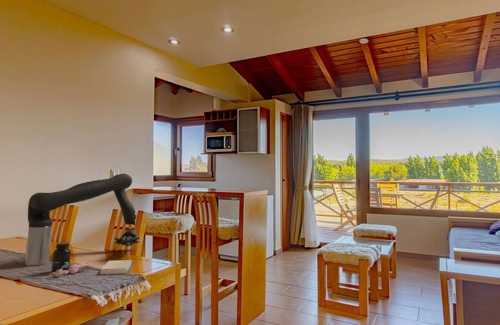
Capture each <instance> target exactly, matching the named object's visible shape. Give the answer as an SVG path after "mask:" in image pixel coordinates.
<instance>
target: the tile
mask: <svg viewBox="0 0 500 325" xmlns="http://www.w3.org/2000/svg"><path fill="white" fill-rule="evenodd" d="M132 261H133V260H132V259H131V260H130V259H129V260H127V259H125V260H122V259H121V260H120V259H119V260H108V261H107V262H106V263H105V264H104V265H103V266H102V267H101V268H100V272H101V274H126V273H127V271H128V270H129V268H130V267H131V264H132Z"/></svg>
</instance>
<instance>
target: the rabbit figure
mask: <svg viewBox="0 0 500 325" xmlns="http://www.w3.org/2000/svg"><path fill="white" fill-rule="evenodd" d="M68 265H69V263H68V262H65V265H64V266H62V268H61V269H59V270H57V271H56V272H49V278H51V279H53V277H54V278H60V277H61V276H64V275H67V274H68V273H69V274H71V275H75V274H76V273H78V272H80V270H81V269H83V268H84V267H90V266H91V264H89V263H83V262H82V263H80V264H78V263H77V264H72V265H71V264H70V267H69V270H62V269H63V268H66V267H68Z"/></svg>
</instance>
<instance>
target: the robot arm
mask: <svg viewBox="0 0 500 325" xmlns="http://www.w3.org/2000/svg"><path fill="white" fill-rule="evenodd" d="M132 184H133V178H132V176H130V174H126V173H119V174H116V175H113V176H112V177H110V178H104V179H96V180H91V181H85V182H82V183H78V184H75V185H73V186H71V187H69V188H67V189H64V190H59V191H53V192H35V193H34V194H32V195H31V196H30V198H29V200H28V202H27V203H28V204H27V206H28V207H27V221H28V228H27V229H28V231H27V242H26V244H25V254H24V255H25V258H24V264H25V265H26V266H27V267H28V266H42V265H47V264H49V263H50V257H51V256H50V255H51V254H50V253H51V242H52V241H51V240H52V228H53V220H52V218H51V216H50V212H51V211H53V210H57V209H58V208H61V207H64V206H67V205H71V204H76V203H80V202H83V201H84V202H85V201H88V200H92V199H94V198H97V197H100V196H103V195H106V194H108V193H110V192H113V193H114V195H115V198H116V199H117V202H118V204H119V208H120V209H121V214H122V217H123V221H124V224H125V225H133V226H135V219H136V217H137V214H136V215H135V213H136V210H135V207H134V205H133V204H132V202H131V201H130V199H129V198H128V195H127V193H126V189H128V188H130V187H131V185H132ZM137 237H138V235H137V233H136V231H135V230H134V229H129V228H127V229H125V230H124V233H123V234H122V235H121V237H114V240H113V243H114V244H116V245H117V244H118V245H122V246H126V247H131V246H133V245H134V244H138V243H140V241H141V240H140V239H141V238H139V237H138V238H137Z"/></svg>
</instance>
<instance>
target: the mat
mask: <svg viewBox="0 0 500 325" xmlns="http://www.w3.org/2000/svg"><path fill="white" fill-rule="evenodd" d="M135 264H136V262H135V261H134V262H132V264H131V267H130V268H129V270H128V271H127V273H126V274H101V271H100V272H99V273H98V274H97V275H96V276H99V277H100V276H103V277H104V276H124V275H125V276H127V275H128V276H129V274H130V272H131V270H132V269H133V267H134V265H135Z"/></svg>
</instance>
